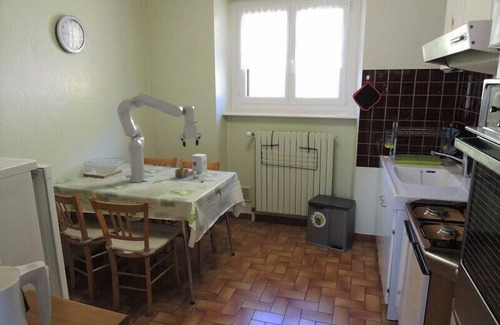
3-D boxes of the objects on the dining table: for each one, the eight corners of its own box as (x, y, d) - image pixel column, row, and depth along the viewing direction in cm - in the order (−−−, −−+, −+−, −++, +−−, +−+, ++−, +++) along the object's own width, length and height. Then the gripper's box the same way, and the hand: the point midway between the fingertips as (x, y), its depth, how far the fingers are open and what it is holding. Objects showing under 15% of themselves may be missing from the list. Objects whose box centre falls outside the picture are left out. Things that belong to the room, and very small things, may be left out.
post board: (173, 182, 255) (172, 174, 253) (176, 176, 272) (176, 168, 271) (203, 182, 256) (203, 174, 255) (205, 176, 273) (204, 168, 272)
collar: (183, 178, 262) (182, 170, 260) (175, 177, 265) (175, 169, 264) (188, 176, 268) (188, 168, 267) (181, 175, 271) (180, 167, 270)
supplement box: (192, 173, 280) (191, 155, 277) (197, 171, 289) (197, 153, 285) (201, 174, 277) (201, 156, 274) (207, 172, 285) (206, 154, 282)
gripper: (199, 121, 264) (200, 144, 267) (176, 123, 255) (177, 146, 259) (202, 122, 257) (203, 145, 261) (179, 124, 249) (181, 148, 253)
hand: (190, 146), depth 260 cm, fingers open, 9 cm apart
